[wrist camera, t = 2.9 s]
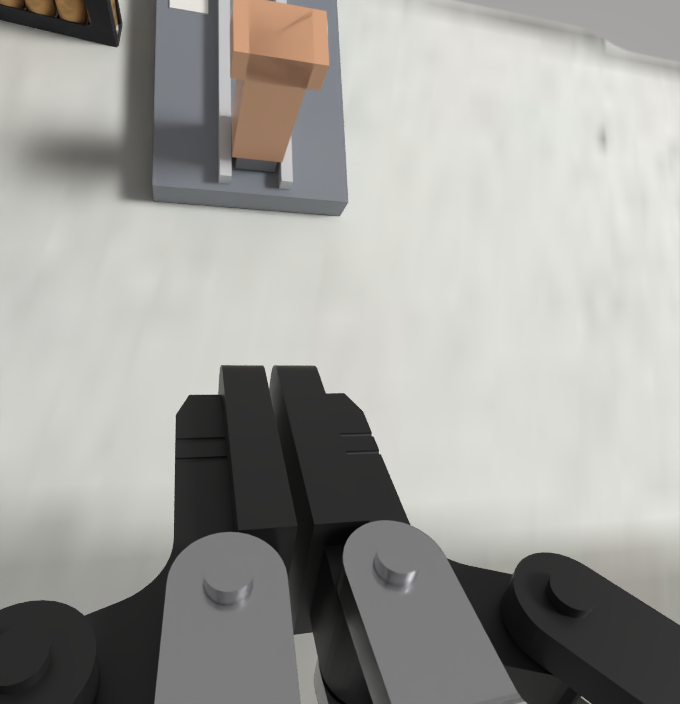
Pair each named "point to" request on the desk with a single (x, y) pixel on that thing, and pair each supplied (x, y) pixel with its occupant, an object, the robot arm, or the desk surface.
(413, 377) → the desk surface
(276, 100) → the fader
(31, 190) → the desk surface
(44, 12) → the ammunition clip
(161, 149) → the fader console
